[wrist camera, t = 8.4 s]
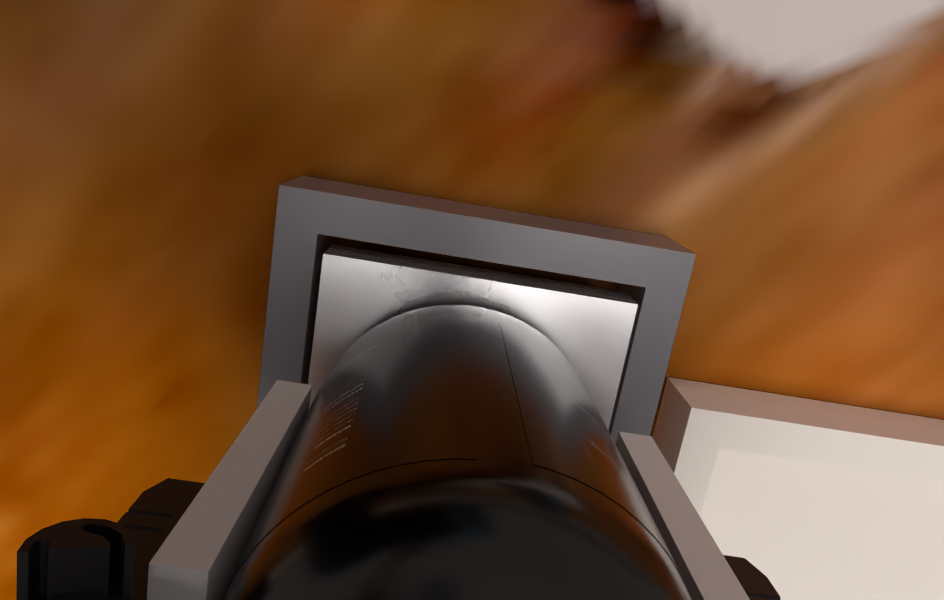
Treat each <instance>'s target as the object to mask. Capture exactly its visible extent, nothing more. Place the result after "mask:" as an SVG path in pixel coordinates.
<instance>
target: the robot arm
mask: <svg viewBox="0 0 944 600" xmlns="http://www.w3.org/2000/svg"><path fill="white" fill-rule="evenodd" d="M311 389H312V385H308V384H301V383H295V382H288V381H281V380H277V381H276V382H275V384H274V385H273V387H272V388H271V390H270V391H269V392H268V394H267V395H266V397H265V398H264V400H263V401H262V402H261V404H260V405H259V407H258V408H257V410H256V411H255V412H254V414H253V415H252V417H251V418H250V420H249V421H248V423H247V424H246V425H245V427H244V428H243V430H242V431H241V433H240V434H239V435H238V437H237V438H236V440H235V441H234V443H233V444H232V445H231V447H230V448H229V450H228V451H227V453H226V454H225V455H224V457H223V458H222V460H221V461H220V463H219V464H218V465H217V467H216V468H215V470H214V471H213V473H212V474H211V475H210V477H209V478H208V480H207V481H206V483H198V482H191V481H184V480H177V479H170V478H168V479H166V480H164V481H162V482H160V483H158V484H157V485H155V486H153V487H151V488H149V489H147V490H146V491H144V492H143V493H142V494H141V495H140V496H139V498H138V499H137V500H136V501H135V502H134V503H133V505H132V506H131V507H130V508H129V511H128V512H126V513H125V514H124V515H123V516H122V518H121V519H120V520H119V521H118V522H117V523H116V522H112V521H109V520H106V519H88V518H84V519H77V520H70V521H64V522H60V523H57V524H55V525H52V526H49V527H46V528H43V529H41V530H40V531H38V532H37V533H35V534H33V535H32V536H30V537H29V538H27V539H26V540H25V541H24V543H23V544H22V546H21V547H20V548H19V550H18V551H17V600H222V598H223V596H224V594H225V591H226V589H227V587H228V584H229V582H230V580H231V578H232V575H233V573H234V571H235V569H236V567H237V565H238V562H239V560H240V558H241V556H242V554H243V551H244V549H245V547H246V545H247V543H248V541H249V538H250V536H251V534H252V532H253V530H254V528H255V525H256V523H257V521H258V519H259V517H260V515H261V512H262V510H263V508H264V506H265V504H266V502H267V499H268V497H269V495H270V493H271V491H272V489H273V486H274V484H275V482H276V480H277V478H278V476H279V473H280V471H281V469H282V467H283V465H284V463H285V460H286V458H287V456H288V454H289V452H290V450H291V447H292V445H293V443H294V441H295V439H296V437H297V434H298V432H299V430H300V428H301V426H302V424H303V421H304V419H305V417H306V415H307V413H308V411H309V405H310V397H311ZM616 447H617V448H618V450H619V452H620V454H621V456H622V458H623V460H624V462H625V464H626V466H627V468H628V470H629V472H630V474H631V476H632V478H633V480H634V482H635V484H636V486H637V488H638V490H639V492H640V494H641V496H642V498H643V500H644V502H645V504H646V506H647V508H648V510H649V512H650V514H651V516H652V518H653V520H654V522H655V524H656V526H657V528H658V530H659V532H660V534H661V536H662V538H663V540H664V542H665V544H666V546H667V548H668V550H669V552H670V554H671V556H672V558H673V560H674V562H675V564H676V566H677V568H678V570H679V572H680V574H681V576H682V578H683V580H684V582H685V585H686V587H687V589H688V591H689V594H690V597H691V599H692V600H780V598H781V597H780V595H779V594H778V592H777V591H776V590H775V588H774V587H773V585H772V584H771V582H770V581H769V579H768V578H767V576H765V575H764V574H763V573H762V572H761V571H759V570H758V569H757V568H756V567H755V566H754V565H752V564H751V563H750V562H749V561H748V560H746V559H745V558H741V557H734V556H727V555H723V554H722V552H721V551H720V549H719V547H718V546H717V544H716V542H715V541H714V539H713V537H712V536H711V534H710V533H709V531H708V529H707V528H706V526H705V524H704V523H703V521H702V519H701V518H700V516H699V514H698V513H697V511H696V509H695V508H694V506H693V504H692V503H691V501H690V499H689V498H688V496H687V494H686V493H685V491H684V489H683V488H682V486H681V484H680V483H679V481H678V479H677V478H676V476H675V474H674V473H673V471H672V469H671V468H670V466H669V465H668V463H667V461H666V460H665V458H664V456H663V455H662V453H661V451H660V450H659V448H658V446H657V445H656V443H655V441H654V440H653V438H652V436H646V435H639V434H632V433H626V432H619V433H618V437H617V441H616Z"/></svg>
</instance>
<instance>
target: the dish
mask: <svg viewBox="0 0 944 600" xmlns="http://www.w3.org/2000/svg"><path fill="white" fill-rule="evenodd" d="M652 438H653V440H654V441H655V443H656V445H657V446H658V448H659V450H660V451H661V453H662V455H663V456H664V458H665V460H666V461H667V463H668V465H669V466H670V468H671V469H672V471H673V473H674V474H675V476H676V478H677V479H678V481H679V483H680V484H681V486H682V488H683V489H684V491H685V493H686V494H687V496H688V498H689V499H690V501H691V503H692V504H693V506H694V508H695V509H696V511H697V513H698V514H699V516H700V518H701V519H702V521H703V523H704V524H705V526H706V528H707V529H708V531H709V533H710V534H711V536H712V537H713V539H714V541H715V542H716V544H717V546H718V547H719V549H720V551H721V552H722V554H723V555H727V556H734V557H741V558H745V559H746V560H748V561H749V562H750V563H751V564H752V565H754V566H755V567H756V568H757V569H758V570H759V571H761V572H762V573H763V574H764V575H765V576H767V578H768V579H769V581H770V582H771V584H772V585H773V587H774V588H775V590H776V591H777V592H778V594H779V595H780V597H781V598H780V600H944V420H941V419H934V418H928V417H921V416H915V415H908V414H902V413H896V412H889V411H883V410H876V409H870V408H863V407H857V406H851V405H844V404H838V403H831V402H825V401H818V400H812V399H806V398H799V397H793V396H786V395H780V394H773V393H767V392H761V391H754V390H748V389H741V388H735V387H728V386H722V385H716V384H709V383H703V382H696V381H690V380H683V379H677V378H671V377H667V381H666V385H665V389H664V393H663V396H662V400H661V404H660V408H659V412H658V416H657V420H656V424H655V428H654V432H653V436H652Z"/></svg>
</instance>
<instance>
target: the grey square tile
mask: <svg viewBox="0 0 944 600" xmlns="http://www.w3.org/2000/svg"><path fill="white" fill-rule="evenodd" d="M438 305H469V306H477V307H483V308H487V309H492V310H495V311H499V312H502V313H505V314H508V315H510V316H512V317H515V318H517V319H519V320H521V321H523V322H525V323H527V324H528V325H530V326H532V327H533V328H535V329H536V330H538V331H539V332H541V333H542V334H544V335H545V336H546V337H547V338H548V339H549V340H551V341H552V342H553V343H554V344H555V345H556V346H557V347H558V348H559V349H560V350H561V351H562V352H563V353H564V355H565V356H566V357H567V358H568V360H569V361H570V362H571V364H572V365H573V366H574V367H575V369H576V371H577V372H578V374H579V376H580V377H581V379H582V381H583V382H584V384H585V386H586V388H587V390H588V391H589V393H590V395H591V397H592V399H593V401H594V403H595V405H596V407H597V409H598V411H599V413H600V415H601V417H602V419H603V421H604V423H605V425H606V427H607V429H609V425H610V421H611V417H612V412H613V408H614V404H615V400H616V395H617V391H618V387H619V383H620V379H621V374H622V370H623V366H624V362H625V358H626V353H627V349H628V345H629V341H630V336H631V332H632V328H633V324H634V320H635V315H636V311H637V307H638V304H637V303H636V302H635V301H634V300H633V298H632V297H631V296H630V295H629V294H628V293H627V292H624V291H617V290H611V289H605V288H599V287H593V286H587V285H581V284H574V283H568V282H562V281H556V280H550V279H544V278H537V277H531V276H525V275H519V274H513V273H507V272H500V271H494V270H488V269H482V268H476V267H470V266H463V265H457V264H451V263H445V262H439V261H433V260H426V259H420V258H414V257H408V256H402V255H396V254H390V253H383V252H377V251H371V250H365V249H359V248H353V247H346V246H340V245H334V244H332V245H331V246H330V247H329V248H328V249H327V250H326V251H325V253H324V254H323V261H322V270H321V278H320V287H319V295H318V304H317V312H316V320H315V329H314V337H313V346H312V354H311V363H310V371H309V380H308V385H312V389H311V397H310V405H309V408H310V406H311V404H312V402H313V400H314V398H315V396H316V394H317V392H318V390H319V388H320V386H321V384H322V383H323V381H324V379H325V377H326V376H327V374H328V372H329V371H330V369H331V368H332V367H333V365H334V364H335V362H336V361H337V360H338V358H339V357H340V356H341V355H342V354H343V353H344V352H345V350H346V349H347V348H348V347H349V346H350V345H351V344H353V343H354V342H355V341H356V340H357V339H358V338H359V337H361V336H362V335H363V334H365V333H366V332H367V331H369V330H370V329H372V328H373V327H375V326H377V325H378V324H380V323H382V322H384V321H386V320H388V319H390V318H392V317H394V316H397V315H400V314H403V313H405V312H408V311H412V310H416V309H420V308H424V307H431V306H438Z"/></svg>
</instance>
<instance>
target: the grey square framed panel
mask: <svg viewBox="0 0 944 600" xmlns="http://www.w3.org/2000/svg"><path fill="white" fill-rule="evenodd" d="M333 237H340V238H346V239H352V240H358V241H364V242H370V243H376V244H383V245H389V246H395V247H401V248H407V249H413V250H419V251H426V252H432V253H438V254H444V255H450V256H456V257H462V258H468V259H475V260H481V261H487V262H493V263H499V264H505V265H511V266H518V267H524V268H530V269H536V270H542V271H548V272H554V273H561V274H567V275H573V276H579V277H585V278H591V279H597V280H603V281H610V282H616V283H619V286H618V290H617V291H624V292H627V293H628V294H629V295H630V296H631V297H632V298H633V300H634V301H635V302H636V303H637V304H638V307H637V311H636V315H635V320H634V324H633V328H632V332H631V336H630V341H629V345H628V349H627V353H626V358H625V362H624V366H623V370H622V374H621V379H620V383H619V387H618V391H617V395H616V400H615V404H614V408H613V412H612V417H611V421H610V425H609V429H608V431H609V433H610V435H611V437H612V439H613V441H614V443H615V445H616V441H617V437H618V433H619V432H626V433H632V434H639V435H646V436H650V434H651V430H652V426H653V422H654V418H655V414H656V410H657V406H658V402H659V398H660V394H661V390H662V386H663V382H664V378H665V375H666V371H667V367H668V363H669V359H670V355H671V351H672V347H673V343H674V339H675V335H676V331H677V327H678V323H679V319H680V315H681V312H682V308H683V304H684V300H685V296H686V292H687V288H688V284H689V280H690V276H691V272H692V268H693V264H694V260H695V256H696V254H695V253H693V252H692V251H690V250H688V249H687V248H685V247H683V246H682V245H680V244H678V243H677V242H675V241H673V240H671V239H670V238H668V237H666V236H660V235H654V234H648V233H642V232H636V231H630V230H624V229H618V228H612V227H607V226H601V225H595V224H589V223H583V222H577V221H571V220H565V219H559V218H553V217H547V216H541V215H535V214H529V213H523V212H517V211H511V210H505V209H499V208H493V207H487V206H481V205H475V204H469V203H463V202H457V201H451V200H445V199H439V198H434V197H428V196H422V195H416V194H410V193H404V192H398V191H392V190H386V189H380V188H374V187H368V186H362V185H356V184H350V183H344V182H338V181H332V180H326V179H320V178H314V177H308V176H300V177H297V178H295V179H292V180H290V181H287V182H285V183H282V184H280V185H279V192H278V202H277V212H276V222H275V232H274V242H273V252H272V263H271V273H270V283H269V293H268V303H267V313H266V323H265V333H264V343H263V353H262V363H261V373H260V383H259V393H258V403H257V408H258V407H259V405H260V404H261V402H262V401H263V400H264V398H265V397H266V395H267V394H268V392H269V391H270V390H271V388H272V387H273V385H274V384H275V382H276V381H277V380H281V381H288V382H295V383H301V384H308V380H309V371H310V363H311V354H312V346H313V337H314V329H315V320H316V312H317V304H318V295H319V287H320V278H321V270H322V261H323V254H324V253H325V251H326V250H327V249H328V248H329V247H330V246H331V245H332V243H333Z"/></svg>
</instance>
